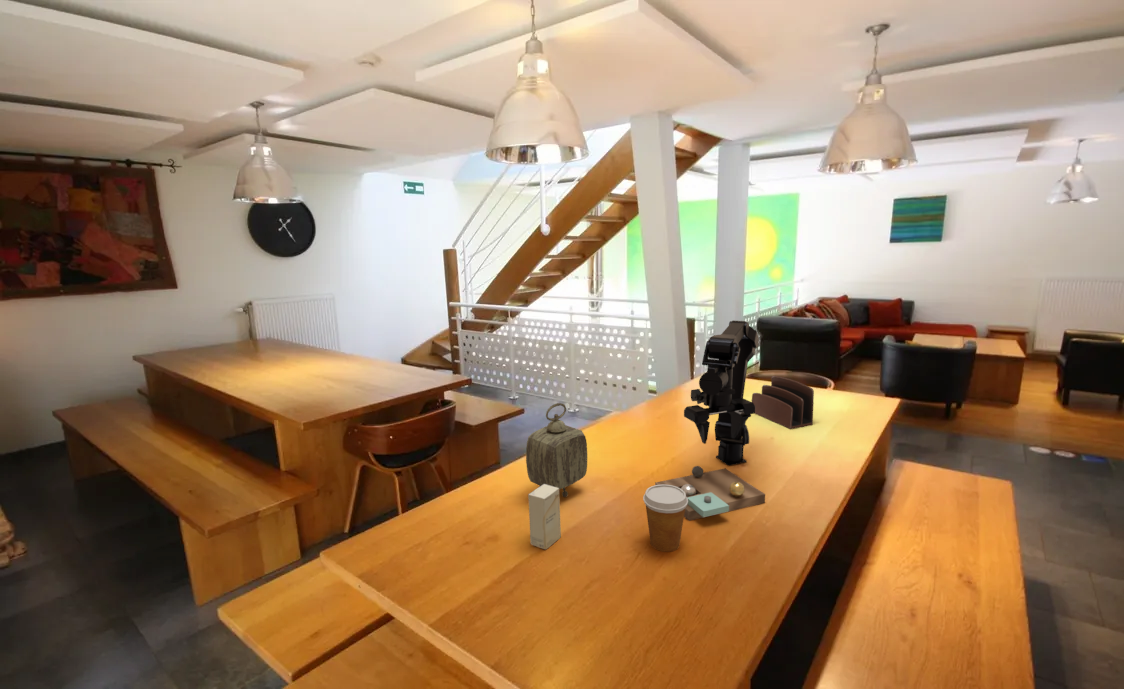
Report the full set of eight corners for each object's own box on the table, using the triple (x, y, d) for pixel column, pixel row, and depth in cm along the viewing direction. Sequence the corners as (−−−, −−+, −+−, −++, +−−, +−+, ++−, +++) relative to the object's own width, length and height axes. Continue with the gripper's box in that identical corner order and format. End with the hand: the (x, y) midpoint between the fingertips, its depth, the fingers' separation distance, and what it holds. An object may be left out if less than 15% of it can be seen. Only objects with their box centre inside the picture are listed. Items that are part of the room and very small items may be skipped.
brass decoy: (738, 491, 133) (738, 478, 133) (747, 497, 130) (748, 484, 129) (726, 493, 132) (726, 480, 131) (735, 500, 129) (735, 486, 128)
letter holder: (771, 408, 201) (773, 372, 198) (813, 425, 182) (816, 386, 180) (750, 412, 197) (752, 376, 194) (790, 430, 179) (793, 390, 176)
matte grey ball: (699, 473, 144) (699, 463, 143) (705, 478, 141) (705, 467, 140) (689, 475, 143) (689, 465, 142) (695, 480, 140) (696, 469, 139)
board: (725, 476, 147) (725, 468, 146) (764, 502, 132) (765, 494, 131) (655, 490, 140) (655, 482, 139) (688, 520, 125) (689, 511, 124)
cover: (711, 497, 130) (711, 488, 130) (728, 511, 124) (729, 501, 123) (686, 503, 128) (686, 493, 127) (703, 517, 122) (703, 507, 121)
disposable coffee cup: (689, 535, 119) (690, 486, 116) (684, 560, 110) (685, 507, 108) (647, 528, 122) (647, 481, 120) (639, 552, 113) (639, 501, 111)
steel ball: (693, 479, 135) (694, 489, 137) (678, 482, 135) (678, 491, 137) (697, 492, 131) (698, 502, 134) (682, 495, 132) (682, 504, 134)
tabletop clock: (566, 479, 147) (564, 394, 142) (590, 490, 141) (589, 401, 136) (527, 498, 138) (523, 407, 132) (551, 510, 131) (548, 415, 126)
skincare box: (545, 550, 115) (543, 499, 112) (529, 544, 117) (527, 494, 115) (561, 536, 120) (560, 487, 117) (545, 531, 122) (544, 482, 120)
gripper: (731, 373, 148) (729, 425, 152) (673, 381, 142) (672, 435, 146) (758, 383, 138) (755, 439, 141) (696, 392, 132) (695, 450, 135)
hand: (718, 440), depth 141 cm, fingers open, 9 cm apart
